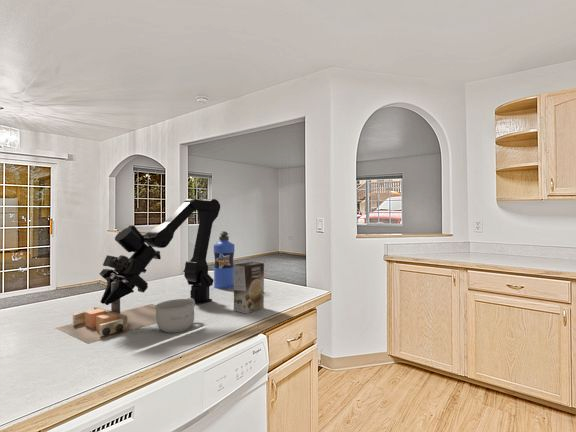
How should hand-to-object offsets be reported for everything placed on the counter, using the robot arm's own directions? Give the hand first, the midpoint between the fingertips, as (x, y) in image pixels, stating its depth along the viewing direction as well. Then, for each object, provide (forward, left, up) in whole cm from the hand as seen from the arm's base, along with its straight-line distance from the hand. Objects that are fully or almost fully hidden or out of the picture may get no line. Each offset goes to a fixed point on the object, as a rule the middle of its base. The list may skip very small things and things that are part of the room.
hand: (103, 303), depth 101 cm
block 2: (+1, +3, -7) cm, 8 cm away
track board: (-7, 0, -7) cm, 10 cm away
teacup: (-13, +18, -8) cm, 23 cm away
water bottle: (-59, -11, -7) cm, 61 cm away
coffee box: (-39, +22, -8) cm, 46 cm away
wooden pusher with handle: (0, 0, -6) cm, 6 cm away
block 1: (+1, -4, -7) cm, 8 cm away
